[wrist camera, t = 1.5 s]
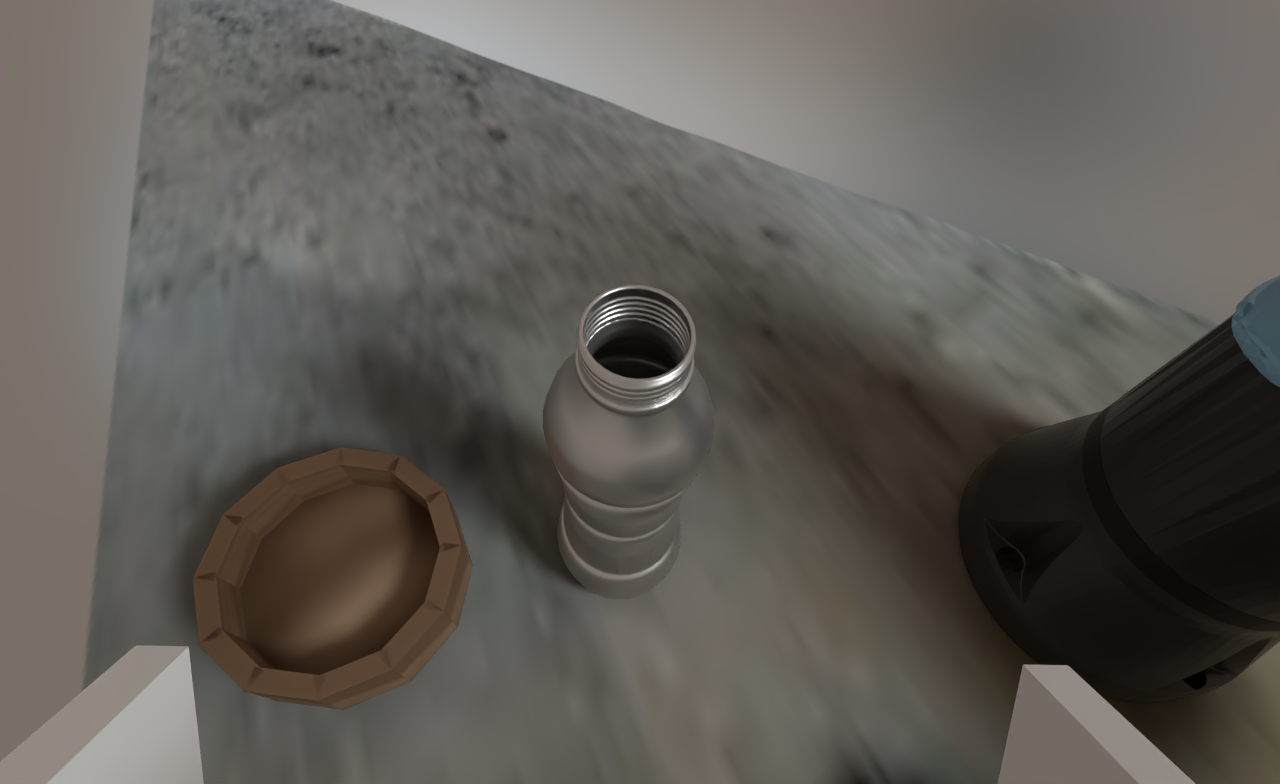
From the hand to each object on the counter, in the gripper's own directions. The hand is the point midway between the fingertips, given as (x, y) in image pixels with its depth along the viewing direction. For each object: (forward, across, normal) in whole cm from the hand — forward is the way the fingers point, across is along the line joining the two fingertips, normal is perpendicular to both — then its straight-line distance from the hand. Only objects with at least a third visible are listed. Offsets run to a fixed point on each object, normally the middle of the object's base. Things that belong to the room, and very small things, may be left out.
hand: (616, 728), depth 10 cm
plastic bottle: (+25, +1, -9) cm, 26 cm away
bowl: (+23, -13, -11) cm, 29 cm away
